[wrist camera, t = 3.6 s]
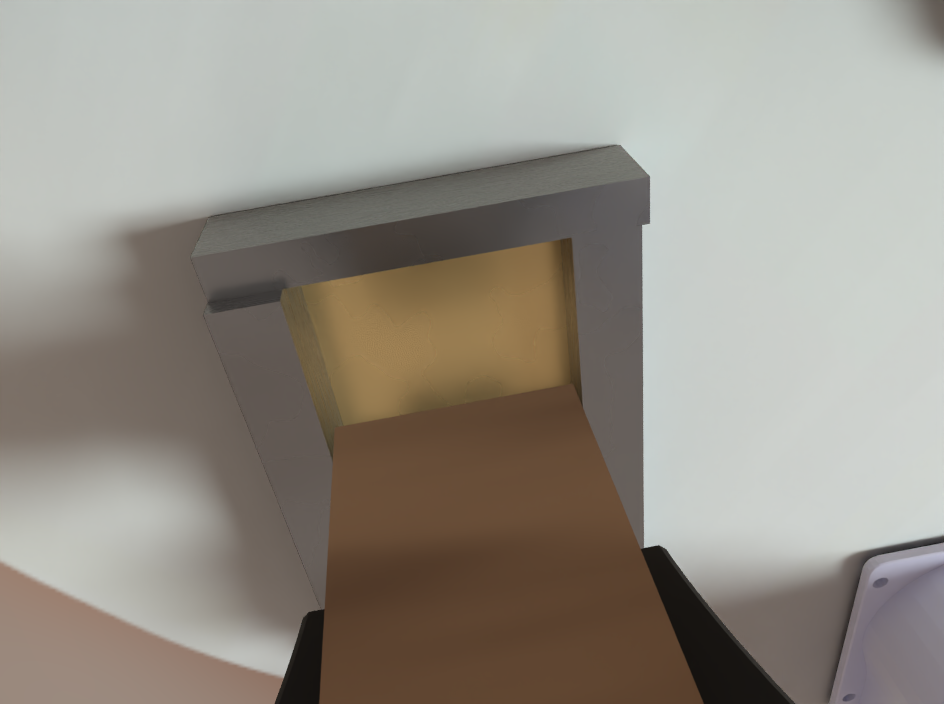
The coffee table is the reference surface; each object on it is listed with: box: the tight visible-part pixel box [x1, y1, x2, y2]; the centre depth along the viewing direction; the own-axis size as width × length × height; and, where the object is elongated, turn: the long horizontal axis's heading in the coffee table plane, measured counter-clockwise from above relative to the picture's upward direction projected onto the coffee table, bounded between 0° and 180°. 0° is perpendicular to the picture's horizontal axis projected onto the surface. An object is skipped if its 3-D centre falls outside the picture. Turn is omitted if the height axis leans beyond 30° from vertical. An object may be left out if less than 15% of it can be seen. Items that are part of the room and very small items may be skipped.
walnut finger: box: [319, 384, 704, 704], centre depth 11 cm, size 5×4×6 cm
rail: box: [190, 145, 650, 610], centre depth 17 cm, size 15×9×6 cm, turn 8°
